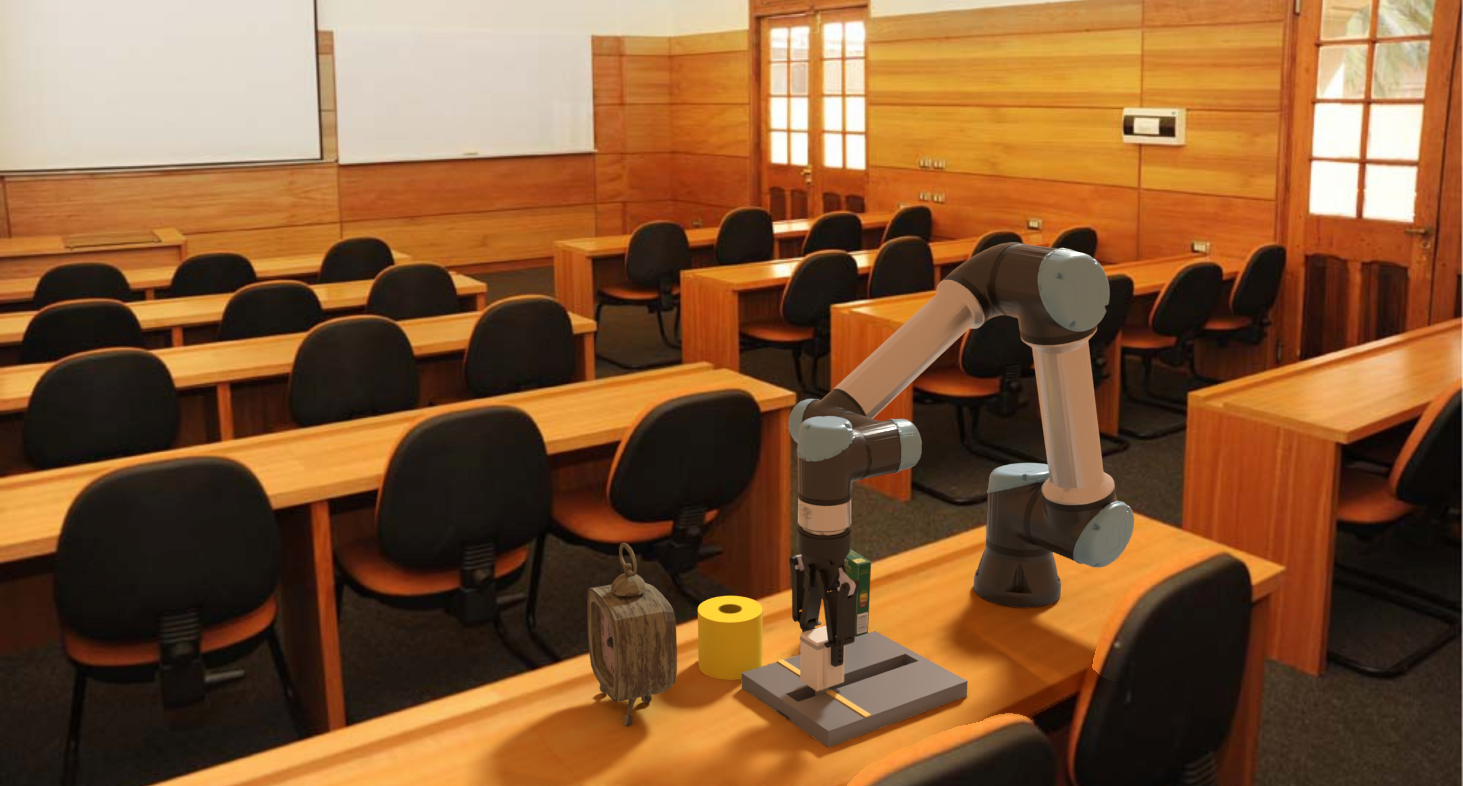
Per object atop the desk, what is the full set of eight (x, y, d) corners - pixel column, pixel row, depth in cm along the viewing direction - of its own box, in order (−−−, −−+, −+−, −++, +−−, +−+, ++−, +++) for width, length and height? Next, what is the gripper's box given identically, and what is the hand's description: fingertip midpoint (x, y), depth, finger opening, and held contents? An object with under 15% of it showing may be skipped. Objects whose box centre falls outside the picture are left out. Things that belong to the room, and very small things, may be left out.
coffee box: (870, 635, 208) (872, 560, 205) (855, 638, 207) (857, 563, 203) (844, 617, 215) (846, 544, 212) (830, 620, 214) (831, 547, 210)
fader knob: (826, 688, 188) (827, 624, 186) (844, 699, 185) (845, 634, 183) (799, 697, 186) (800, 633, 183) (816, 708, 182) (817, 643, 180)
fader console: (874, 645, 204) (875, 629, 204) (966, 696, 187) (967, 679, 187) (741, 688, 190) (741, 671, 189) (828, 747, 173) (828, 729, 173)
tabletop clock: (589, 690, 190) (584, 533, 184) (646, 678, 193) (643, 524, 187) (620, 734, 177) (615, 567, 171) (680, 721, 180) (678, 557, 174)
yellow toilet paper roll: (772, 657, 200) (772, 602, 198) (746, 684, 191) (746, 627, 189) (715, 646, 204) (715, 591, 202) (687, 672, 195) (686, 615, 193)
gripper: (767, 514, 184) (766, 662, 189) (841, 550, 170) (839, 708, 176) (808, 504, 188) (806, 649, 193) (884, 538, 174) (880, 693, 180)
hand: (822, 677), depth 184 cm, fingers closed on fader knob, 4 cm apart
